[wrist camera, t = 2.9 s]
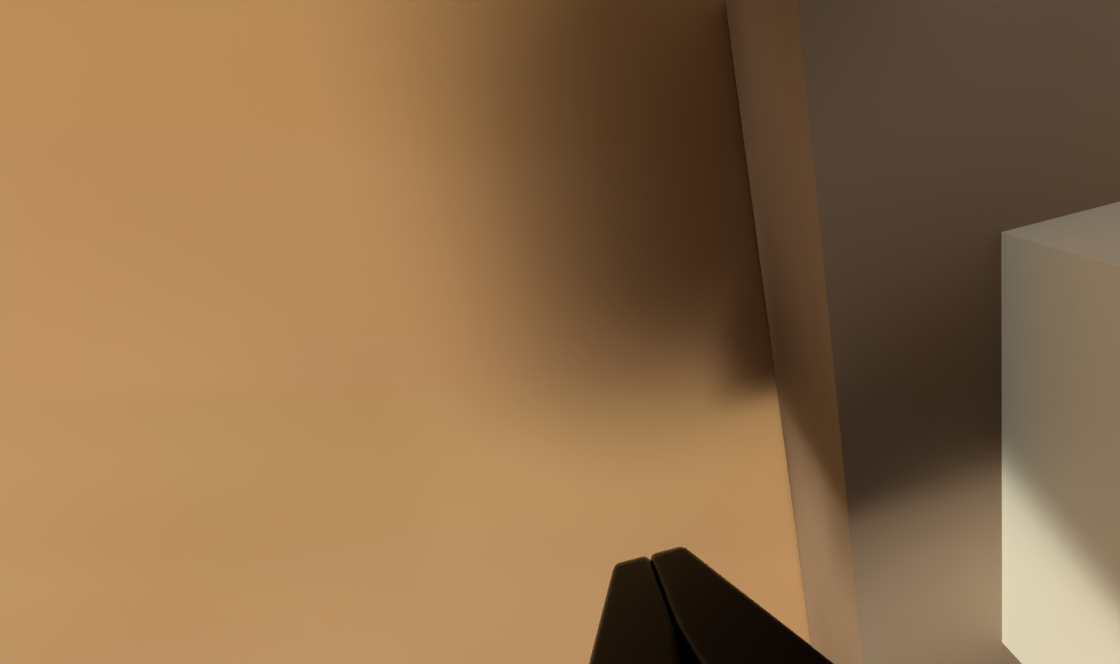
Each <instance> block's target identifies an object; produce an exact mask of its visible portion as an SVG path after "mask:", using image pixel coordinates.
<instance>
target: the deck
mask: <svg viewBox="0 0 1120 664" xmlns="http://www.w3.org/2000/svg"><path fill="white" fill-rule="evenodd" d="M725 4H726V11H727V19H728V26H729V34H730V41H731V49H732V56H733V63H734V71H735V78H736V86H737V93H738V101H739V108H740V116H741V123H742V131H743V138H744V146H745V153H746V161H747V168H748V175H749V183H750V190H751V198H752V205H753V213H754V220H755V228H756V235H757V243H758V250H759V258H760V265H761V273H762V280H763V287H764V295H765V302H766V310H767V317H768V325H769V332H770V340H771V347H772V355H773V362H774V370H775V377H776V385H777V392H778V400H779V407H780V414H781V422H782V429H783V437H784V444H785V452H786V459H787V467H788V474H789V482H790V489H791V497H792V504H793V512H794V519H795V526H796V534H797V541H798V549H799V556H800V564H801V571H802V579H803V586H804V594H805V601H806V609H807V616H808V624H809V631H810V638H811V646H812V647H813V648H814V649H816V650H817V651H818V652H820V653H821V654H822V655H823V656H825V657H826V658H827V659H829V660H830V661H831V662H832V663H834V664H1022V663H1021V662H1020V661H1019V660H1018V659H1017V658H1016V657H1015V656H1014V655H1013V654H1012V653H1011V651H1010V650H1009V649H1008V648H1007V647H1006V646H1005V645H1004V644H1003V643H1002V302H1001V232H1004V231H1008V230H1012V229H1016V228H1019V227H1023V226H1027V225H1031V224H1035V223H1039V222H1043V221H1046V220H1050V219H1054V218H1058V217H1062V216H1066V215H1070V214H1074V213H1077V212H1081V211H1085V210H1089V209H1093V208H1097V207H1101V206H1104V205H1108V204H1112V203H1116V202H1120V0H728V1H725Z"/></svg>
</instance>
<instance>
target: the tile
mask: <svg viewBox="0 0 1120 664" xmlns="http://www.w3.org/2000/svg"><path fill="white" fill-rule="evenodd" d="M1001 302H1002V643H1003V644H1004V645H1005V646H1006V647H1007V648H1008V649H1009V650H1010V651H1011V653H1012V654H1013V655H1014V656H1015V657H1016V658H1017V659H1018V660H1019V661H1020V662H1021V663H1022V664H1120V202H1116V203H1112V204H1108V205H1104V206H1101V207H1097V208H1093V209H1089V210H1085V211H1081V212H1077V213H1074V214H1070V215H1066V216H1062V217H1058V218H1054V219H1050V220H1046V221H1043V222H1039V223H1035V224H1031V225H1027V226H1023V227H1019V228H1016V229H1012V230H1008V231H1004V232H1001Z"/></svg>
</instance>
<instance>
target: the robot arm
mask: <svg viewBox="0 0 1120 664" xmlns="http://www.w3.org/2000/svg"><path fill="white" fill-rule="evenodd" d="M589 664H834V663H832V662H831V661H830V660H829V659H827V658H826V657H825V656H823V655H822V654H821V653H820V652H818V651H817V650H816V649H814V648H813V647H812V646H811V645H809V644H808V643H807V642H805V641H804V640H803V639H802V638H800V637H799V636H798V635H796V634H795V633H794V632H793V631H791V630H790V629H789V628H788V627H786V626H785V625H784V624H782V623H781V622H780V621H779V620H777V619H776V618H775V617H773V616H772V615H771V614H770V613H768V612H767V611H766V610H764V609H763V608H762V607H761V606H759V605H758V604H757V603H755V602H754V601H753V600H752V599H750V598H749V597H748V596H746V595H745V594H744V593H743V592H741V591H740V590H739V589H737V588H736V587H735V586H734V585H732V584H731V583H730V582H728V581H727V580H726V579H725V578H723V577H722V576H721V575H720V574H718V573H717V572H716V571H714V570H713V569H712V568H711V567H709V566H708V565H707V564H705V563H704V562H703V561H702V560H700V559H699V558H698V557H696V556H695V555H694V554H693V553H691V552H690V551H689V550H687V549H686V548H683V547H677V548H673V549H670V550H666V551H662V552H658V553H655V554H653V555H652V556H651V562H650V560H649V559H648V558H647V557H639V558H636V559H632V560H628V561H624V562H621V563H618V564H616V565H615V567H614V569H613V572H612V576H611V580H610V584H609V588H608V592H607V596H606V600H605V603H604V607H603V611H602V615H601V619H600V623H599V627H598V631H597V635H596V639H595V643H594V647H593V651H592V655H591V659H590V662H589Z"/></svg>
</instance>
